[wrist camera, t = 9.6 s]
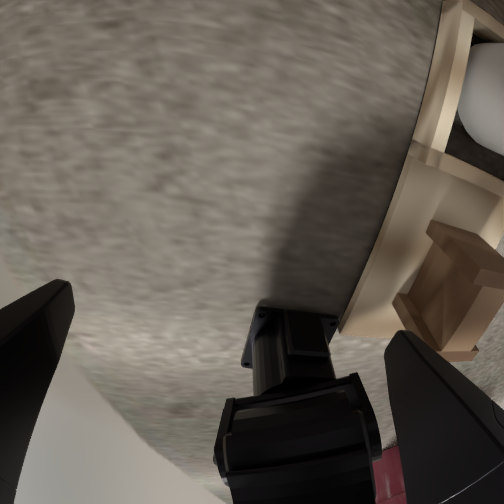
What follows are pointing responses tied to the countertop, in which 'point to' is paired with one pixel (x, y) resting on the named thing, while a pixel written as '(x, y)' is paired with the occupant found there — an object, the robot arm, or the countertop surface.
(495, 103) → the can
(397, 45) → the countertop surface
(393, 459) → the plant pot
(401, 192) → the wooden divided tray
